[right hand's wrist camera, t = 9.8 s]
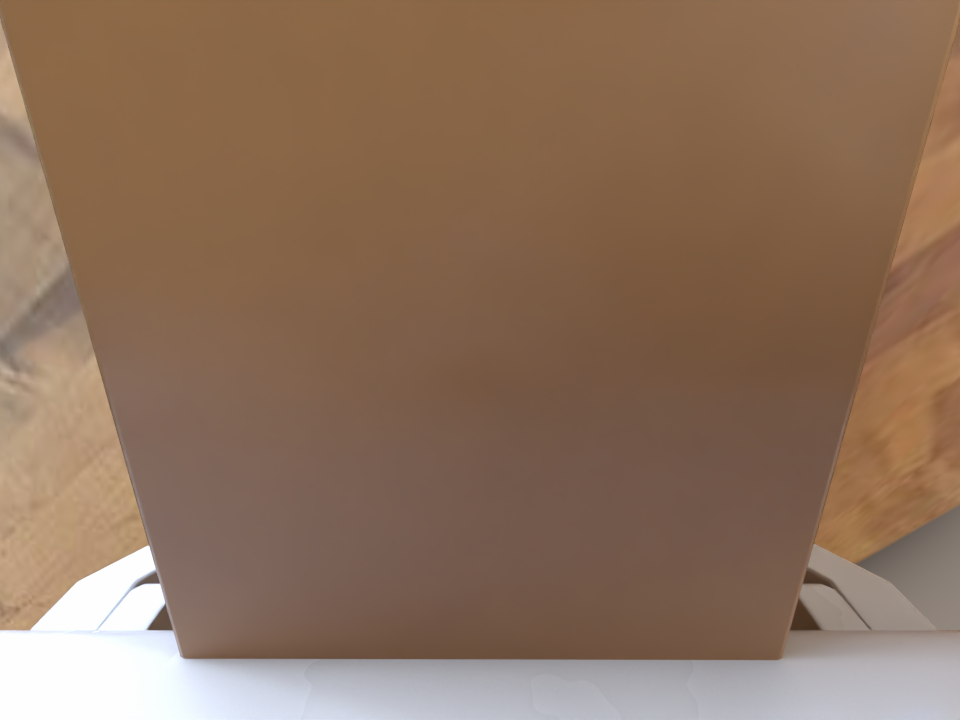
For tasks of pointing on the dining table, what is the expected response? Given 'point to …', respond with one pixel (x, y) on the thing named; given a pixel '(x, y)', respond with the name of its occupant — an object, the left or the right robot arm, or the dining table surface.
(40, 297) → the dining table surface
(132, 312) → the box
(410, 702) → the right robot arm
